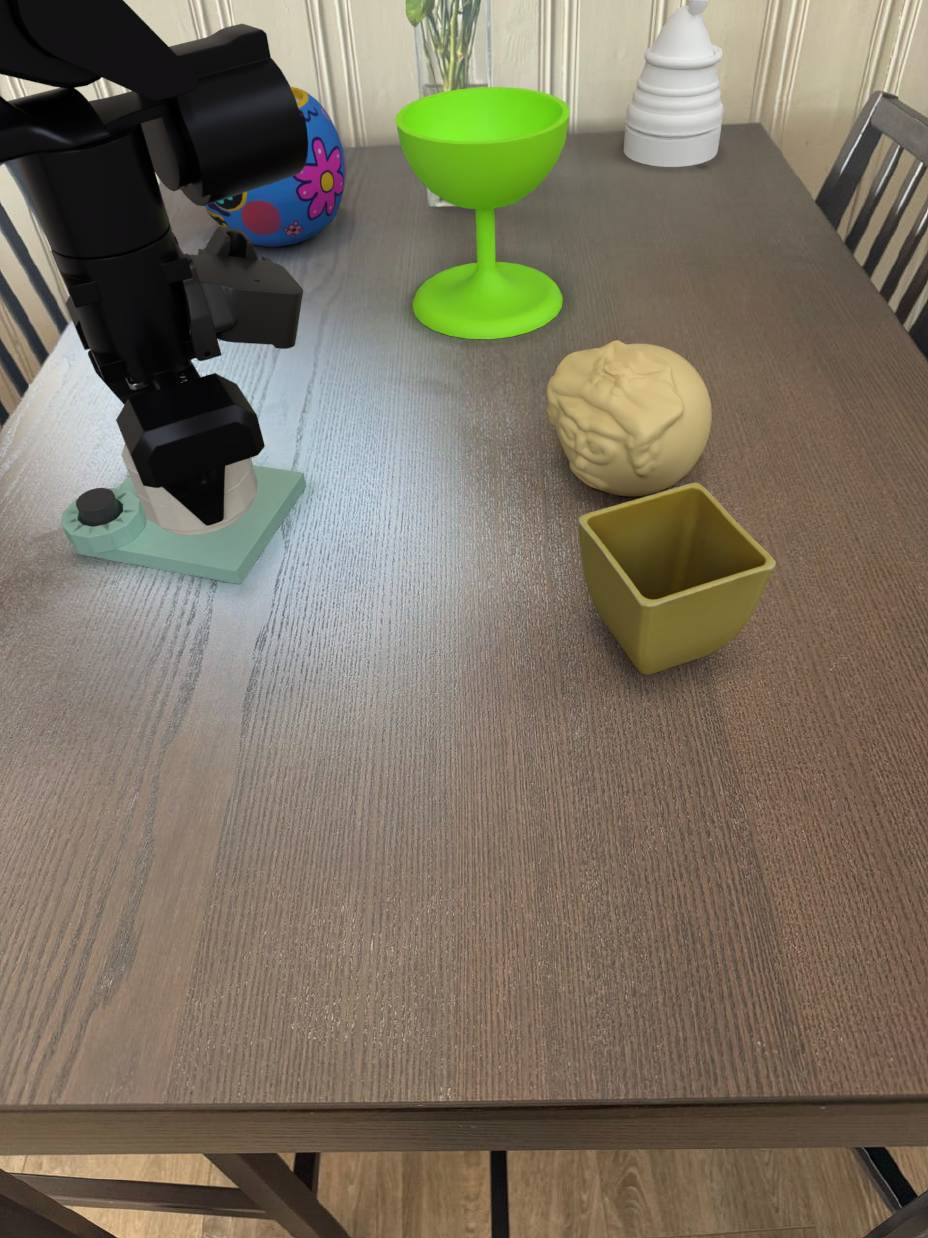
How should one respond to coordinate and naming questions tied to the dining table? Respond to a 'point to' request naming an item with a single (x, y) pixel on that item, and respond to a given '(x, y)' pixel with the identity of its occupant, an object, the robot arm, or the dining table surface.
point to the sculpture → (629, 416)
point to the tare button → (98, 507)
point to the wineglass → (484, 200)
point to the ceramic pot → (293, 189)
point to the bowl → (178, 517)
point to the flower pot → (672, 575)
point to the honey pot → (677, 95)
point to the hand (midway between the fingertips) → (197, 488)
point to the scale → (189, 554)
